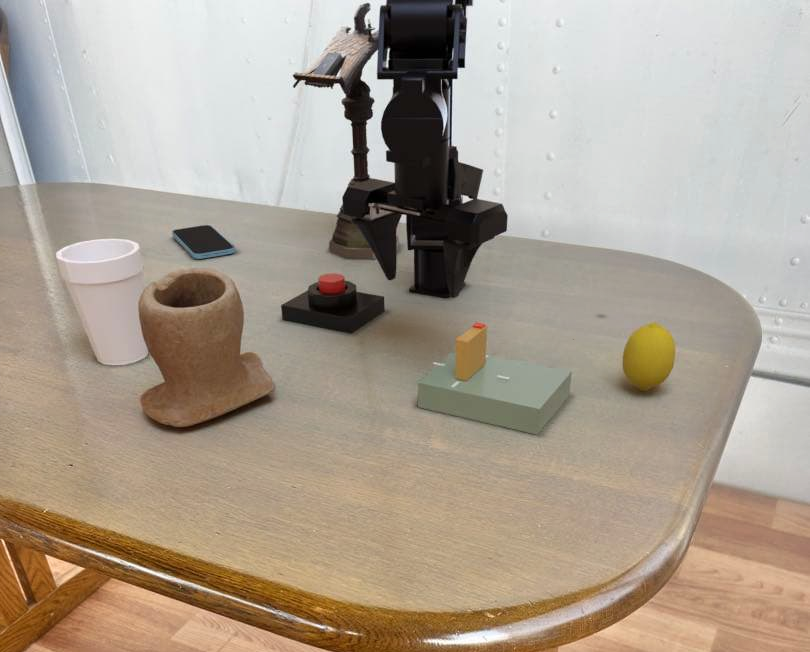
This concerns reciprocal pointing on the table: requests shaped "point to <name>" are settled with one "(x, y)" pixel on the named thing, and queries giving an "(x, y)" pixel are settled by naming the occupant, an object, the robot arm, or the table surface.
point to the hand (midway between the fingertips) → (422, 287)
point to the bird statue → (349, 114)
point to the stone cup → (198, 348)
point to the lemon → (648, 356)
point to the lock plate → (497, 393)
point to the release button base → (333, 308)
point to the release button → (331, 283)
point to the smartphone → (203, 241)
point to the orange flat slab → (470, 351)
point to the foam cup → (107, 296)
